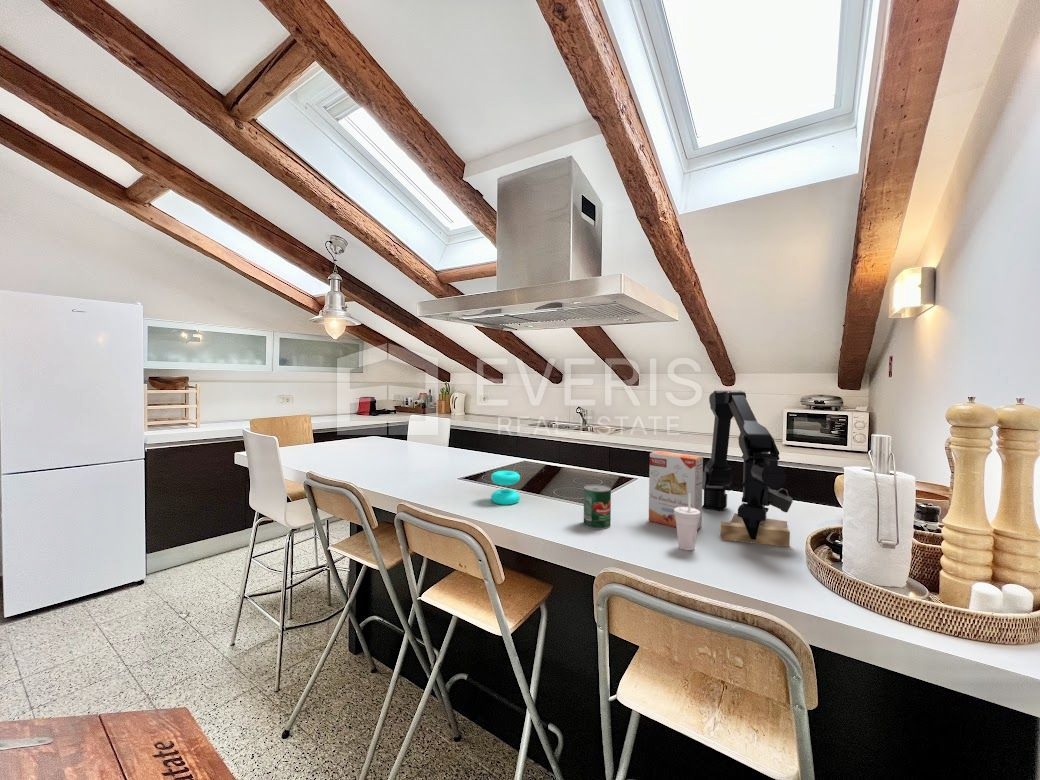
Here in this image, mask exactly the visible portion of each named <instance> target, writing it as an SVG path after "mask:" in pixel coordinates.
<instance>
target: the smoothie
mask: <svg viewBox="0 0 1040 780" xmlns="http://www.w3.org/2000/svg"><path fill="white" fill-rule="evenodd" d="M674 514H675V517H676V526H677V527H676V535H677V542H678V549H680V548H681V550H682V549H684V550H683V551H686V550H692V551H694V550H695V547H696V546H695V545H696V539H697V534H698V533H697V532H698V529H697V528H698V521H699V517H700V516H701V515H700V511H699V510H698V509H695V508H691V494H690V493H689V498H688V507H676V508H675V509H674ZM693 549H694V550H693Z"/></svg>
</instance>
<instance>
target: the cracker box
mask: <svg viewBox="0 0 1040 780" xmlns="http://www.w3.org/2000/svg"><path fill="white" fill-rule="evenodd" d="M703 469H704V456H700V455H694V454H685V453H678V452H677V453H676V452H672V451H671V452H670V451H666V450H665V451H663V450H657V451H652V452H650V453H649V474H648V475H649V478H648V479H649V483H648V484H649V485H648V521H649V522H654V523H658V524H662V525H666V526H669V527H675V528H677V526H676V517H675V514H674V509H675V508H676V507H688V498H689V493H690V494H691V508H695V509H698V510H699V511H700V515H701V516H700V517H699V521H698V528H699V529H700V528H702V524H703V523H702V521H703V519H702V518H703V507H702V506H703V489H702V484H703V472H704V470H703ZM698 528H697V530H698Z"/></svg>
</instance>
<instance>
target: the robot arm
mask: <svg viewBox="0 0 1040 780" xmlns="http://www.w3.org/2000/svg"><path fill="white" fill-rule="evenodd" d="M708 399H709V405H710V407H709V408H710V410H711V412H712V413H713V416H714V422H713V433H712V444H711V455H710V456H711V457H710V459H709V460H708V461H707V462H706V463H705V464H704V468H703V469H704V470H703V484H702V491H703V504H702V509H707V510H708V509H710V510H716V511H723V512H724V511H725V510H726V508H727V506H728V493H726V491H727V492H730V491H731V489H732V483H733V476H732V474H733V471H732V469H731V468H730V466H729V464H728V463H727V461H728V452H729V442H730V432H731V422H732V419H734V421H735V422H736V425H737V427H738V429H739V436H738V439H737V440H738V446H739V448H740V450H741V453H742V456H741V458H742V459H743V475H742V484H741V487H742V497H741V502H742V503H741V504H740V505H739V506H738V508H737V514H738V517H741V518H742V520H743V522H744V524H745V526H746V528H747V531H748V533H749V535H750V538H751V539H753V540H756V536H757V532H758V528H759V525H760V522H761V521H766V518H768V516H767V513H768V512H769V507H770V506H772V507H774V508H776V509H778V510H780V511H781V512H783V513H789V511H790V510H789V509H790V508H791V506H792V504H793V497H792V496H790V495H789V492H788V489H785V488H783V487H782V486H783V485H784V484H785V483H786V480H787V473H786V471H785V469H784V468H783V467H781V466H780V465H779V460H780V456H779V455H780V454H781V453H780V452H779V449H778V446H777V445H776V442H775V440H774V437H773V436H772V434H771V432H770V431H769V430H768V428H767V427H765V426H763V425H762V424H760V423H759V422H758V421H757V418H756V416H755V414H754V412H753V410H752V408H751V406H750V404H749V402H748V400H747V394H746V392H745V391H743V390H714V391H713V392H712V393H710V394H709V397H708ZM780 487H781V488H780ZM777 488H779V489H778V490H777ZM763 506H765V507H763ZM768 506H769V507H768Z"/></svg>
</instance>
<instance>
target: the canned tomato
mask: <svg viewBox="0 0 1040 780" xmlns="http://www.w3.org/2000/svg"><path fill="white" fill-rule="evenodd" d="M611 496H612V487H610V486H608V485H604V484H587V485H584V486H583V526H585V527H587V528H588V529H593V530H606V529H608V528H611V525H612V524H611V521H612V520H611V519H612V518H611V516H612V515H611V513H612V511H611V510H612V507H611V506H612V505H611V504H612V499H611V498H612V497H611Z"/></svg>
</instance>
